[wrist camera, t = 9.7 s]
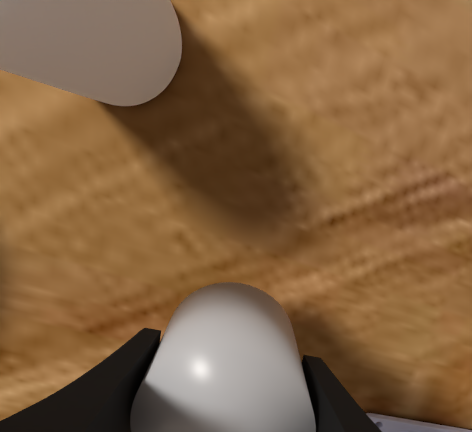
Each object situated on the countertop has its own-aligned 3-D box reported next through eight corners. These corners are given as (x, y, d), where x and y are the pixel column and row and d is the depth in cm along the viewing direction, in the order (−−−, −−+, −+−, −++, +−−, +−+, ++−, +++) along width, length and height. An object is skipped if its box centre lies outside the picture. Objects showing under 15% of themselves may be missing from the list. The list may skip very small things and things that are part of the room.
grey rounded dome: (306, 294, 12) (335, 366, 8) (280, 404, 13) (294, 515, 9) (175, 272, 12) (138, 333, 8) (161, 383, 13) (123, 485, 9)
